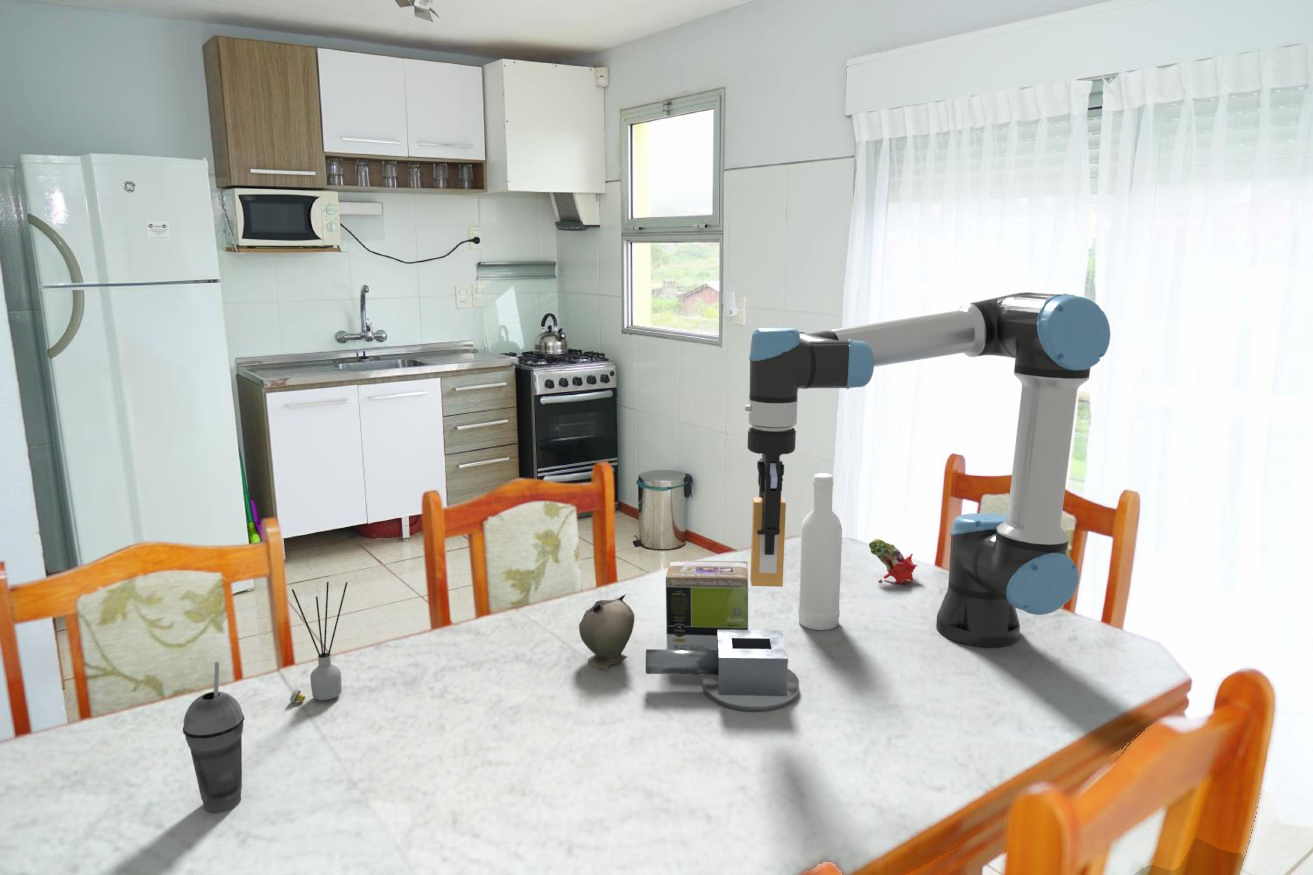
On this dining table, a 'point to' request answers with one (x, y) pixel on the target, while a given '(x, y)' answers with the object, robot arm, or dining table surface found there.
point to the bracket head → (736, 669)
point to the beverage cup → (216, 747)
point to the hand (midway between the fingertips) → (766, 567)
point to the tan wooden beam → (755, 576)
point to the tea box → (704, 602)
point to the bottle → (820, 560)
